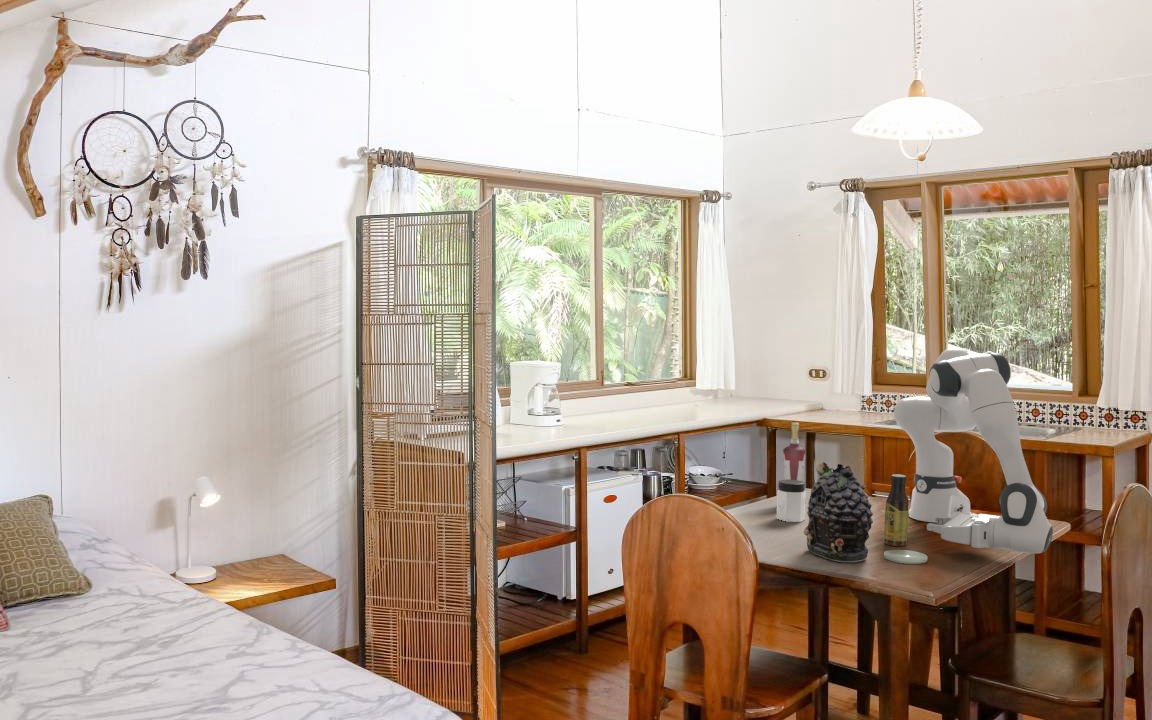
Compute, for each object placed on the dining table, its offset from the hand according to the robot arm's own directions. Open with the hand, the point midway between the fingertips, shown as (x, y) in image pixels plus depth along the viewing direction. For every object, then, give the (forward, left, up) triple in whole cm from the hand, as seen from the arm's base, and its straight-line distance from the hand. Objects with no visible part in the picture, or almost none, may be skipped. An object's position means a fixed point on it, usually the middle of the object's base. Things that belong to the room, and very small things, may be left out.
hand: (931, 523), depth 266 cm
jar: (+8, -47, -8) cm, 48 cm away
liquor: (-8, -63, -8) cm, 64 cm away
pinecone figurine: (+28, -8, -8) cm, 30 cm away
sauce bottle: (+4, -9, -8) cm, 12 cm away
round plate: (+14, +3, -7) cm, 16 cm away
